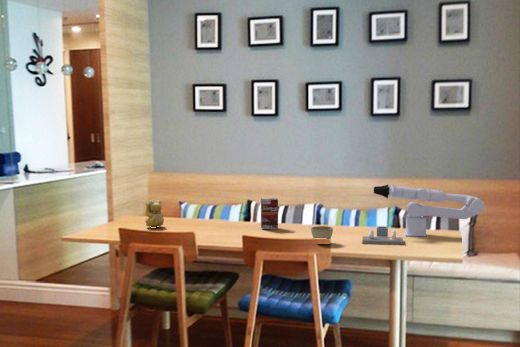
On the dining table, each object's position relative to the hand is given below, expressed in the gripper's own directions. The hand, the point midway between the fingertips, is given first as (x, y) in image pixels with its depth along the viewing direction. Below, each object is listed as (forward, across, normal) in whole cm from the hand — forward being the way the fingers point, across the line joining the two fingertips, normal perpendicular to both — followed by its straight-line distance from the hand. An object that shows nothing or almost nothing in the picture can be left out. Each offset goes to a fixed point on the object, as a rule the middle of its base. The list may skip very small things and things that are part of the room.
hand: (373, 189), depth 272 cm
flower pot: (+21, +26, +24) cm, 41 cm away
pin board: (-6, +19, +21) cm, 29 cm away
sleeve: (-6, +9, +21) cm, 24 cm away
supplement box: (+51, -6, +26) cm, 58 cm away
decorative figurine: (+112, -1, +32) cm, 116 cm away
